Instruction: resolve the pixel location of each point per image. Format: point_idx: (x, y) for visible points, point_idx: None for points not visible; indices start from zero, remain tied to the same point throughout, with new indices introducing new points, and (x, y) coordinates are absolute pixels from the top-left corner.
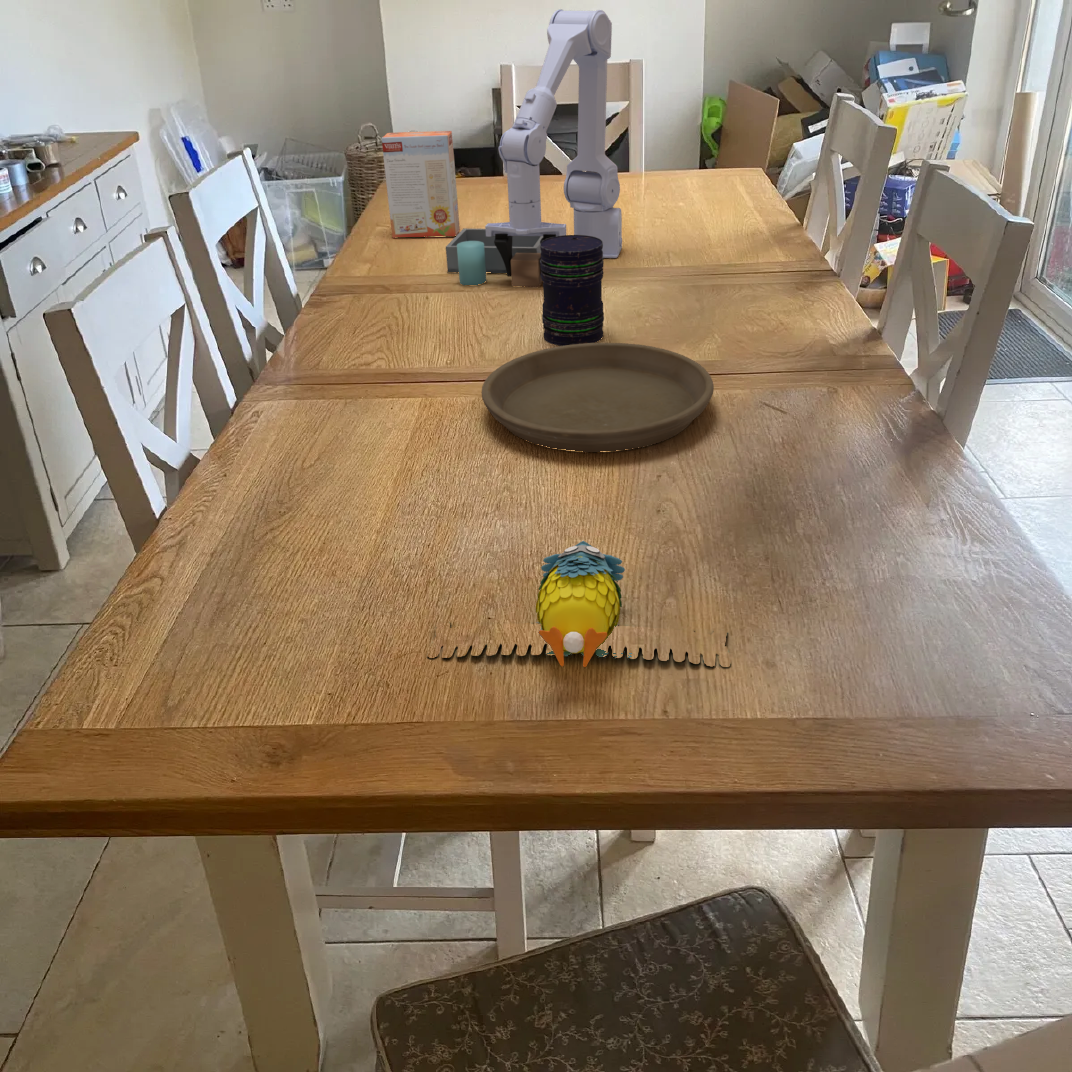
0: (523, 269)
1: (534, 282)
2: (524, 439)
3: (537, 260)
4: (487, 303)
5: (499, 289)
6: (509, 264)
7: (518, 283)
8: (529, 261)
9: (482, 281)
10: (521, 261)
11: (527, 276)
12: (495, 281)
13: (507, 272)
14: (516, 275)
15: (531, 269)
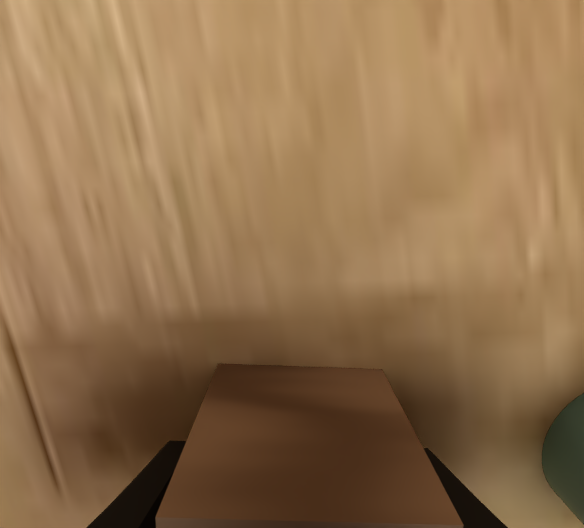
0: (314, 446)
1: (238, 380)
2: None
3: (159, 524)
4: (513, 12)
5: (453, 320)
6: None
7: (344, 379)
8: (250, 508)
9: (575, 421)
10: (339, 510)
11: (283, 406)
12: (489, 459)
13: (442, 465)
14: (367, 412)
15: (243, 444)
